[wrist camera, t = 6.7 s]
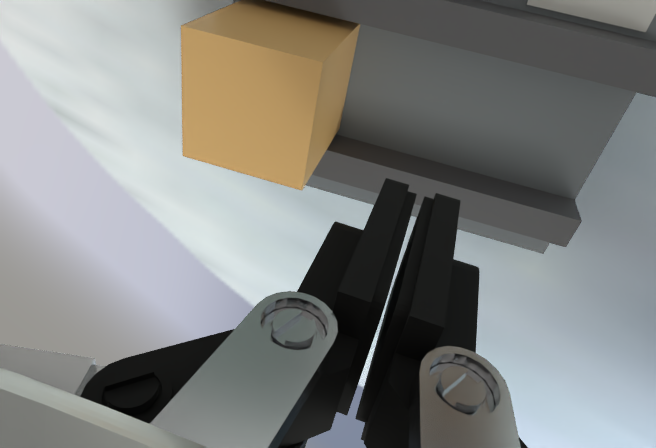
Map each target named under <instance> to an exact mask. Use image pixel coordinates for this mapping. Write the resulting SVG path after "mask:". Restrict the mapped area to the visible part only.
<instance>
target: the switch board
mask: <svg viewBox="0 0 656 448" xmlns="http://www.w3.org/2000/svg"><path fill="white" fill-rule="evenodd" d="M238 1H241V0H234V3H236V2H238ZM265 1H269V2H273V3H278V4H282V5H286V6H290V7H294V8H298V9H302V10H306V11H310V12H314V13H318V14H322V15H326V16H330V17H334V18H338V19H342V20H346V21H350V22H354V23H358V24H360V28H359V33H358V38H357V43H356V48H355V53H354V58H353V63H352V68H351V73H350V78H349V83H348V88H347V93H346V98H345V103H344V108H343V113H342V118H341V123H340V128H339V130H338V132H337V133H336V135H335V137H334V138H333V140H332V142H331V143H330V145H329V147H328V148H327V150H326V152H325V153H324V155H323V156H322V158H321V160H320V161H319V163H318V165H317V166H316V168H315V170H314V171H313V173H312V175H311V176H310V178H309V180H308V181H307V183H306V185H307V186H310V187H314V188H317V189H321V190H324V191H328V192H331V193H335V194H338V195H341V196H345V197H348V198H352V199H355V200H359V201H362V202H366V203H369V204H373V205H375V202H376V200H377V198H378V195H379V193H380V191H381V188H382V186H383V184H384V181H385V179H386V178H388V179H392V180H395V181H398V182H402V183H405V184H408V185H409V188H408V191H409V192H412V193H416V194H417V196H416V199H415V203H414V206H413V209H412V213H411V216H414V217H417V216H418V213H419V210H420V207H421V204H422V202H423V199H424V196H425V197H429V198H432V199H434V196H435V194H436V193H438V194H441V195H445V196H448V197H451V198H455V199H458V200H460V210H459V218H458V225H457V229H459V230H463V231H466V232H470V233H473V234H477V235H480V236H484V237H487V238H491V239H494V240H497V241H501V242H504V243H508V244H511V245H515V246H518V247H522V248H525V249H529V250H532V251H536V252H539V253H543V254H544V252H545V250H546V248H547V247H548V245H549V243H553V244H556V245H560V246H563V247H566V246H567V244H568V243H569V241H570V239H571V238H572V236H573V234H574V233H575V231H576V230H577V228H578V226H579V225H580V223H581V218H580V215H579V212H578V209H577V206H576V203H575V198H576V196H577V195H578V193H579V191H580V189H581V188H582V186H583V184H584V182H585V181H586V179H587V177H588V176H589V174H590V172H591V170H592V169H593V167H594V165H595V163H596V162H597V160H598V158H599V156H600V155H601V153H602V151H603V150H604V148H605V146H606V144H607V143H608V141H609V139H610V137H611V136H612V134H613V132H614V130H615V129H616V127H617V125H618V124H619V122H620V120H621V118H622V117H623V115H624V113H625V111H626V110H627V108H628V106H629V104H630V103H631V101H632V99H633V97H634V96H635V94H636V92H637V93H641V94H645V95H649V96H654V97H656V0H265Z"/></svg>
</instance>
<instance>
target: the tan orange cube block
mask: <svg viewBox="0 0 656 448" xmlns="http://www.w3.org/2000/svg"><path fill="white" fill-rule="evenodd" d="M359 28H360V24H358V23H354V22H350V21H346V20H342V19H338V18H334V17H330V16H326V15H322V14H318V13H314V12H310V11H306V10H302V9H298V8H294V7H290V6H286V5H282V4H278V3H273V2H269V1H265V0H241V1H238V2H236V3H233V4H231V5H229V6H226V7H224V8H222V9H219V10H217V11H215V12H212V13H210V14H207V15H205V16H203V17H200V18H198V19H196V20H193V21H191V22H188V23H186V24H184V25H181V60H182V137H183V156H185V157H188V158H192V159H195V160H198V161H202V162H205V163H209V164H212V165H216V166H219V167H223V168H226V169H230V170H233V171H236V172H240V173H243V174H247V175H250V176H254V177H257V178H261V179H264V180H267V181H271V182H274V183H278V184H281V185H285V186H288V187H292V188H295V189H298V190H303V188H304V186H305V185H306V183H307V181H308V180H309V178H310V176H311V175H312V173H313V171H314V170H315V168H316V166H317V165H318V163H319V161H320V160H321V158H322V156H323V155H324V153H325V152H326V150H327V148H328V147H329V145H330V143H331V142H332V140H333V138H334V137H335V135H336V133H337V132H338V130H339V128H340V123H341V118H342V113H343V108H344V103H345V98H346V93H347V88H348V83H349V78H350V73H351V68H352V63H353V58H354V53H355V48H356V43H357V38H358V33H359Z"/></svg>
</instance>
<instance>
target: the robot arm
mask: <svg viewBox="0 0 656 448" xmlns="http://www.w3.org/2000/svg"><path fill="white" fill-rule="evenodd" d="M408 188H409V185H408V184H405V183H402V182H398V181H395V180H392V179H388V178H386V179H385V181H384V184H383V186H382V188H381V191H380V193H379V195H378V198H377V200H376V202H375V205H374V207H373V209H372V212H371V214H370V216H369V219H368V221H367V224H366V226H365V228H364V230H360V229H357V228H354V227H351V226H348V225H345V224H342V223H339V222H334V224H333V226H332V227H331V229H330V231H329V233H328V235H327V237H326V239H325V240H324V242H323V244H322V246H321V248H320V250H319V252H318V253H317V255H316V257H315V259H314V261H313V263H312V265H311V267H310V268H309V270H308V272H307V274H306V276H305V278H304V280H303V282H302V283H301V285H300V287H299V289H298V291H297V292H291V291H288V292H280V293H276V294H273V295H270V296H268V297H266V298H265V299H263V300H262V301H261V302H259V303H258V304H257V305H256V306H255V307H254V309H253V310H252V311H251V312H250V313H249V314H248V315H247V316H246V317H245V319H244V320H243V321H242V322H241V323H240V324H239V325H238V326H237V328H236V329H233V330H230V331H225V332H222V333H218V334H214V335H210V336H207V337H203V338H199V339H195V340H192V341H188V342H184V343H180V344H176V345H173V346H169V347H165V348H161V349H158V350H154V351H150V352H146V353H143V354H139V355H135V356H131V357H128V358H125V359H121V360H119V361H116V362H114V363H111V364H109V365H107V366H101V365H96V362H95V358H90V357H84V356H77V355H70V354H64V353H57V352H51V351H43V350H37V349H31V348H24V347H18V346H11V345H4V344H0V448H305V446H306V443H307V440H308V439H309V438H311V437H314V436H316V435H319V434H321V433H323V432H326V431H328V430H330V429H331V427H332V423H333V420H334V417H335V414H336V412H339V413H342V414H344V415H347V414H348V411H349V408H350V405H351V402H352V400H353V397H354V394H355V391H356V388H357V385H358V382H359V379H360V376H361V373H362V371H363V368H364V365H365V362H366V359H367V356H368V353H369V350H370V347H371V344H372V342H373V339H374V336H375V333H376V330H377V327H378V324H379V321H380V318H381V315H382V312H383V309H384V306H385V303H386V299H387V296H388V293H389V289H390V286H391V282H392V279H393V275H394V272H395V268H396V265H397V261H398V258H399V255H400V251H401V248H402V244H403V241H404V237H405V234H406V230H407V227H408V223H409V220H410V216H411V213H412V209H413V206H414V203H415V199H416V196H417V194H416V193H412V192H409V191H408ZM459 210H460V200H458V199H455V198H451V197H448V196H445V195H441V194H438V193H436V194H435V196H434V199H432V198H429V197H425V196H424V199H423V202H422V204H421V207H420V210H419V213H418V216H417V219H416V222H415V225H414V227H413V230H412V233H411V236H410V239H409V242H408V245H407V248H406V251H405V253H404V256H403V259H402V262H401V265H400V268H399V271H398V274H397V276H396V279H395V282H394V285H393V288H392V291H391V294H390V298H389V301H388V305H387V308H386V312H385V315H384V319H383V322H382V326H381V329H380V333H379V336H378V340H377V344H376V347H375V351H374V354H373V358H372V361H371V365H370V368H369V372H368V375H367V379H366V383H365V386H364V390H363V393H362V397H361V400H360V404H359V408H358V411H357V415H356V419H357V420H360V421H363V422H365V426H364V429H363V433H362V437H361V439H362V440H364V444H365V445H366V447H367V448H528V447H527V446H526V445H525V444H524V443H523V441H522V440H521V439H520V438H519V436H518V432H517V427H516V422H515V417H514V412H513V407H512V402H511V397H510V392H509V390H508V387H507V384H506V382H505V380H504V379H503V377H502V376H501V374H500V373H499V371H498V370H497V369H496V368H495V367H494V366H493V365H492V364H491V363H490V362H488V361H487V360H486V359H485V358H483V357H481V356H480V355H478V354H476V333H477V312H478V291H479V268H478V267H476V266H473V265H470V264H466V263H463V262H460V261H457V260H454V259H453V257H454V249H455V241H456V233H457V225H458V218H459Z"/></svg>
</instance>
